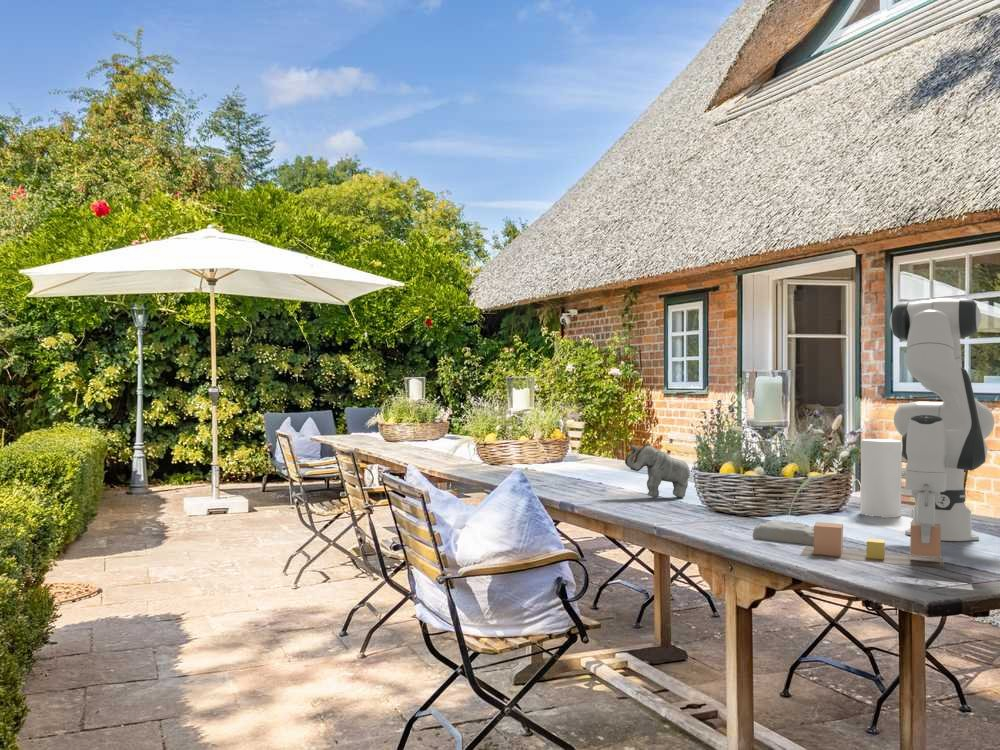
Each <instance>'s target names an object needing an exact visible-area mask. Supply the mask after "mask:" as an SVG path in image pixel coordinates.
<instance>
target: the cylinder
mask: <svg viewBox="0 0 1000 750" xmlns="http://www.w3.org/2000/svg"><path fill="white" fill-rule="evenodd" d="M902 458H903V456H902V440H898V439H884V438H883V439H882V438H863V439H861V440H860V509H859V510H860V512H861V513H863V514H867V515H873V516H883V517H882V518H887V517H893V518H900V517H901V516H902V461H903V460H902ZM861 513H860V514H861ZM863 514H862V515H863ZM867 515H866V516H867ZM873 516H872V517H873ZM899 516H900V517H899Z"/></svg>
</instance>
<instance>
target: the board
mask: <svg viewBox="0 0 1000 750" xmlns="http://www.w3.org/2000/svg"><path fill="white" fill-rule="evenodd" d="M866 554H867V550H852V549H843V552H842V555H841V556H834V555H823V554H814V546H812V545H811V546H810V545H809V546H808V545H807V546H804V548H803V550H802V551H801V553H800V556H806V557H814V558H815V557H816V558H827V559H837V560H847V561H859V562H870V563H871V562H872V563H878V564H891V565H900V566H901V565H902V566H911V567H923V568H931V569H932V568H934V569H944V570H945V563H944V562H945V561H944V558H942V557H929V556H918V555H910V554H909V555H908V554H899V553H888V552H885V557H884V559H875V558H866Z"/></svg>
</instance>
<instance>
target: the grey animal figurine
mask: <svg viewBox="0 0 1000 750" xmlns="http://www.w3.org/2000/svg"><path fill="white" fill-rule="evenodd" d="M630 446H631V450H632V451H631V452H630V453H629V454H628V455H627V457H626V458H625V460H624V461H625V462H624V463H625V466H627V467H628V468H629V469H630V470H631V471H635V472H639V471H640V470H642V469H643V468H644V467H646V469H647V476H648V479H647V481H646V487H647V490H648V492H647V493H646V494H647V496H650V497H651V498H654V499H655V498H658V497H659V495H660V491H659V486H660V485H661V484H662V483H661V482H662V481H663V482H667V483H668V482H669V483H672V486H673V488H672V495H673V496H675V497H676V498H680V499H681V498H685V496H686V492H687V488H688V486H689V481H688V480H689V478H690V473H691V472H690V471H691V470H690V467H689V465H688V464H687V463H686V462H685V461H684V460H680V459H677V458H673V457H671V456H670V455H669V454H668V453H666V452H664V451H661V450H658V449H656V448H655V447H654V446H653V445H650V444H649V445H648V444H645V445H643V446H641V448H639V447H638V446H637V445H632V444H631V445H630ZM633 459H634V461H633Z"/></svg>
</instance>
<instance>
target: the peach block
mask: <svg viewBox="0 0 1000 750" xmlns="http://www.w3.org/2000/svg"><path fill="white" fill-rule="evenodd" d="M813 527H814V545H813V547H814V554H823V555H834V556H841V555H842V552H843V548H844V524H843V523H832V522H819V521H816V522H815V524H814V525H813Z"/></svg>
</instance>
